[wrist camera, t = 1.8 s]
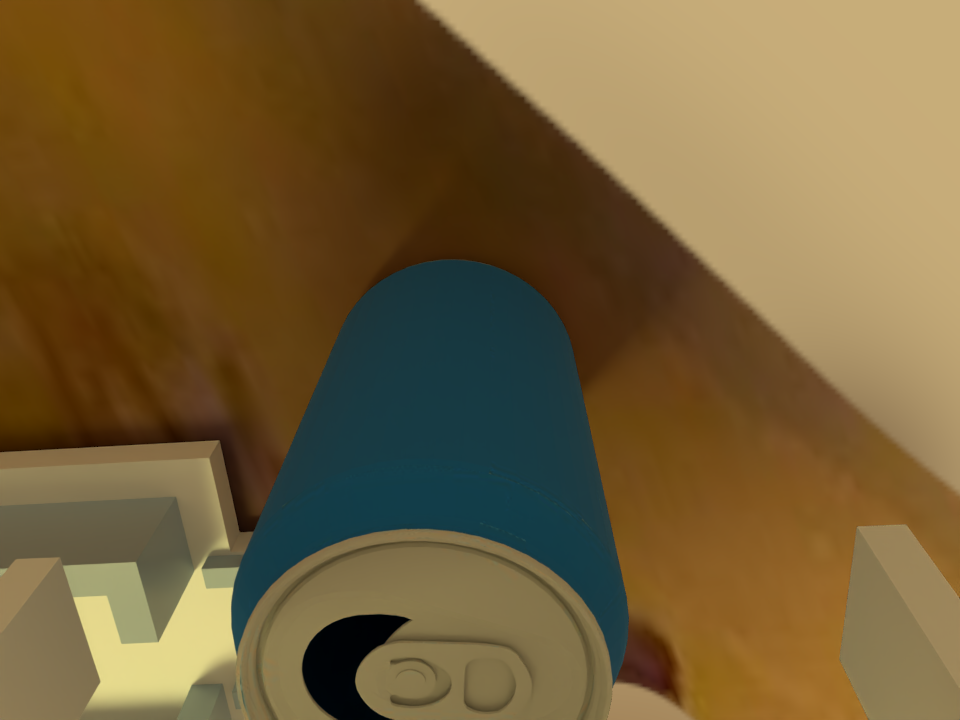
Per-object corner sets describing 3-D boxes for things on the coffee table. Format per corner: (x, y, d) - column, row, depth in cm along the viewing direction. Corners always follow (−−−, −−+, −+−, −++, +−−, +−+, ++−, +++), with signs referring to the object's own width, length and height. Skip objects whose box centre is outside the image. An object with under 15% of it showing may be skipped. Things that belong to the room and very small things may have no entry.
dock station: (-52, 757, 30) (-127, 864, 26) (-182, 462, 25) (-296, 543, 22) (561, 732, 29) (571, 840, 26) (548, 422, 24) (558, 499, 21)
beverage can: (335, 244, 22) (184, 500, 11) (582, 255, 22) (668, 519, 11) (341, 459, 25) (224, 833, 14) (562, 468, 25) (618, 849, 14)
